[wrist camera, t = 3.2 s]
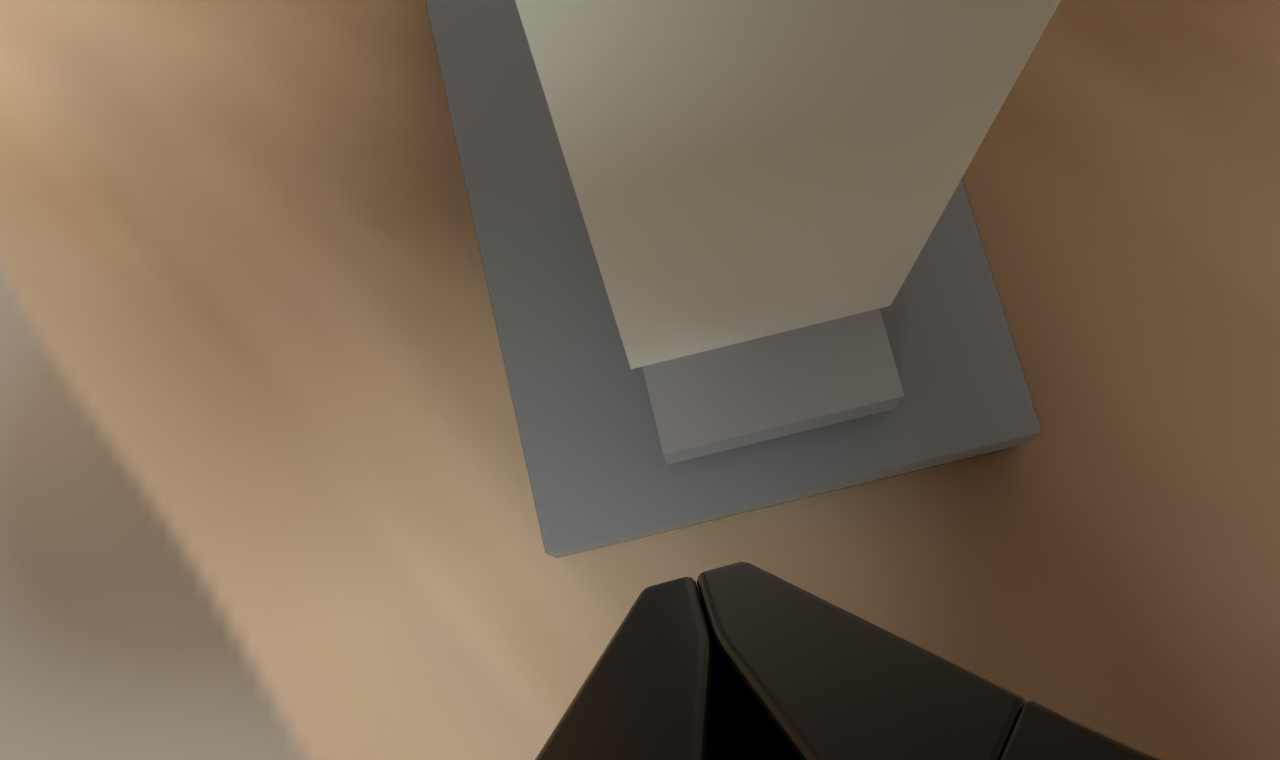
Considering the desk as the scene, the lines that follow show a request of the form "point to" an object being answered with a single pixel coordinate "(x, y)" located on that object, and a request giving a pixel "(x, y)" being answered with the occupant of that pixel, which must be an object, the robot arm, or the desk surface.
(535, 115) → the console
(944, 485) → the desk surface
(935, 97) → the fader tab
